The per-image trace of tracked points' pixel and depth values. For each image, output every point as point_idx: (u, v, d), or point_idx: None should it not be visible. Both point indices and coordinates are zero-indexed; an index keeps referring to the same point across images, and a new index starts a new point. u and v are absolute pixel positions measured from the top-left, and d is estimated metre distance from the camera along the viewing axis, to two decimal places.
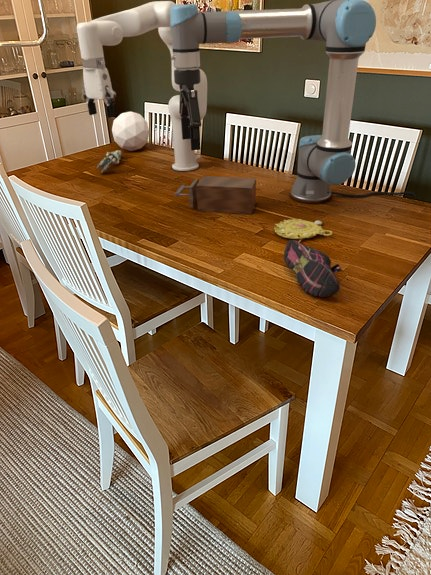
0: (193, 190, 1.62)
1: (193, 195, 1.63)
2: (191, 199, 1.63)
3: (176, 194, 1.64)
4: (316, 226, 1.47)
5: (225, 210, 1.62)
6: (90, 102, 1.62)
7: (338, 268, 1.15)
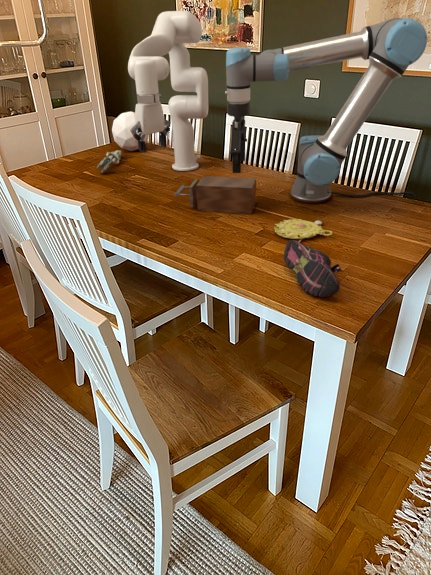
0: (193, 190, 1.62)
1: (193, 195, 1.63)
2: (191, 199, 1.63)
3: (176, 194, 1.64)
4: (316, 226, 1.47)
5: (225, 210, 1.62)
6: None
7: (338, 268, 1.15)
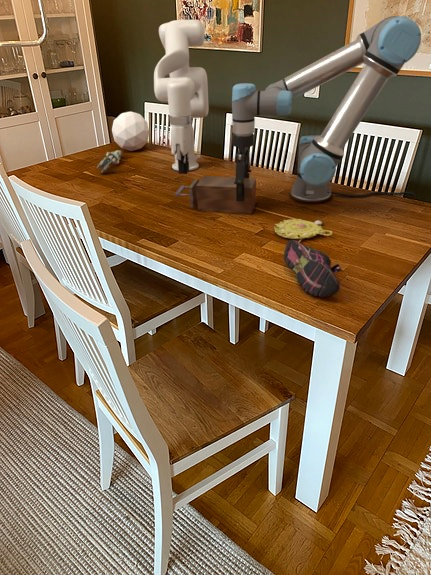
0: (193, 190, 1.62)
1: (193, 195, 1.63)
2: (191, 199, 1.63)
3: (176, 194, 1.64)
4: (316, 226, 1.47)
5: (225, 210, 1.62)
6: None
7: (338, 268, 1.15)
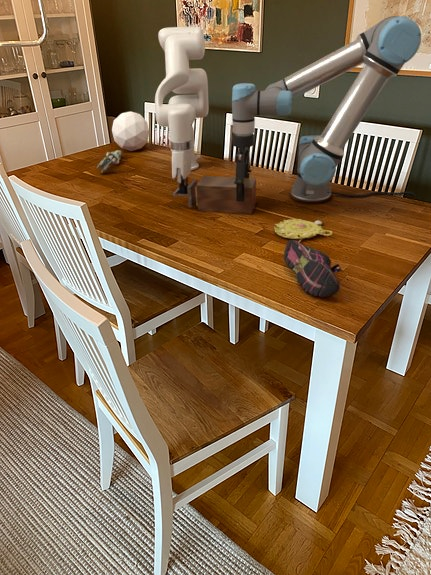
0: (191, 190, 1.62)
1: (191, 195, 1.63)
2: (189, 199, 1.63)
3: (174, 194, 1.64)
4: (316, 226, 1.47)
5: (225, 210, 1.62)
6: None
7: (338, 268, 1.15)
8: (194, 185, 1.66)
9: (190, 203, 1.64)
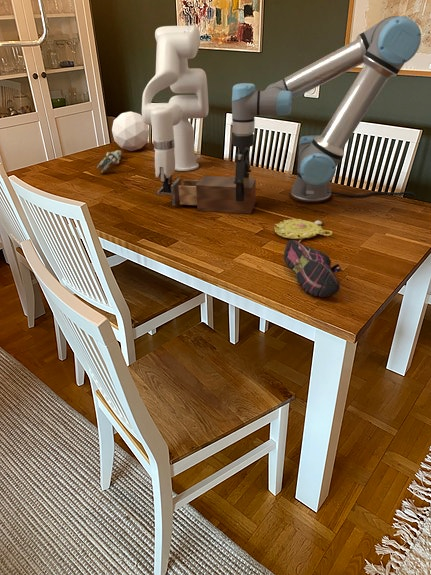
0: (174, 189, 1.63)
1: (175, 194, 1.65)
2: (173, 198, 1.65)
3: (158, 193, 1.65)
4: (316, 226, 1.47)
5: (225, 210, 1.62)
6: None
7: (338, 268, 1.15)
8: (178, 184, 1.67)
9: (174, 202, 1.65)
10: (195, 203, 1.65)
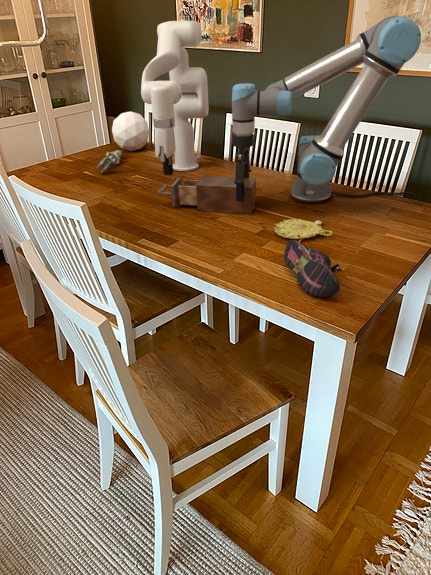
0: (174, 189, 1.63)
1: (175, 194, 1.65)
2: (173, 198, 1.64)
3: (158, 193, 1.65)
4: (316, 226, 1.47)
5: (225, 210, 1.62)
6: None
7: (338, 268, 1.15)
8: (178, 184, 1.67)
9: (174, 202, 1.65)
10: (195, 203, 1.65)
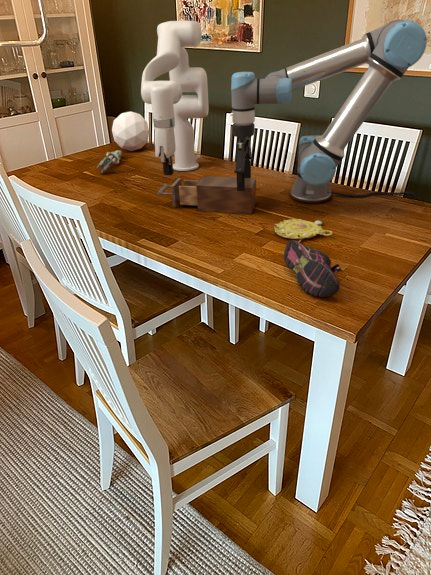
0: (175, 189, 1.63)
1: (175, 194, 1.65)
2: (173, 198, 1.64)
3: (158, 193, 1.65)
4: (316, 226, 1.47)
5: (225, 210, 1.62)
6: None
7: (338, 268, 1.15)
8: (178, 184, 1.67)
9: (174, 202, 1.65)
10: (195, 203, 1.65)
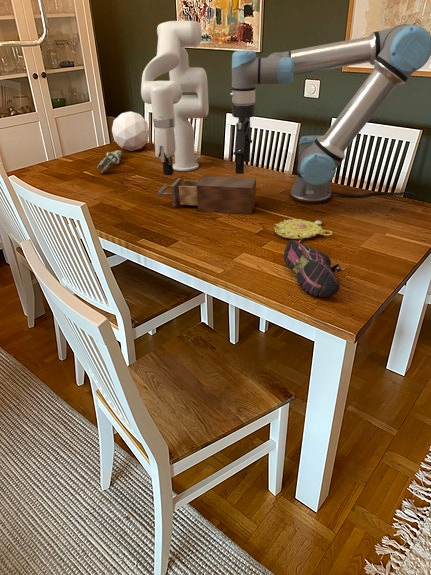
0: (175, 189, 1.63)
1: (175, 194, 1.65)
2: (173, 198, 1.64)
3: (158, 193, 1.65)
4: (316, 226, 1.47)
5: (225, 210, 1.62)
6: None
7: (338, 268, 1.15)
8: (178, 184, 1.67)
9: (174, 202, 1.65)
10: (195, 203, 1.65)
